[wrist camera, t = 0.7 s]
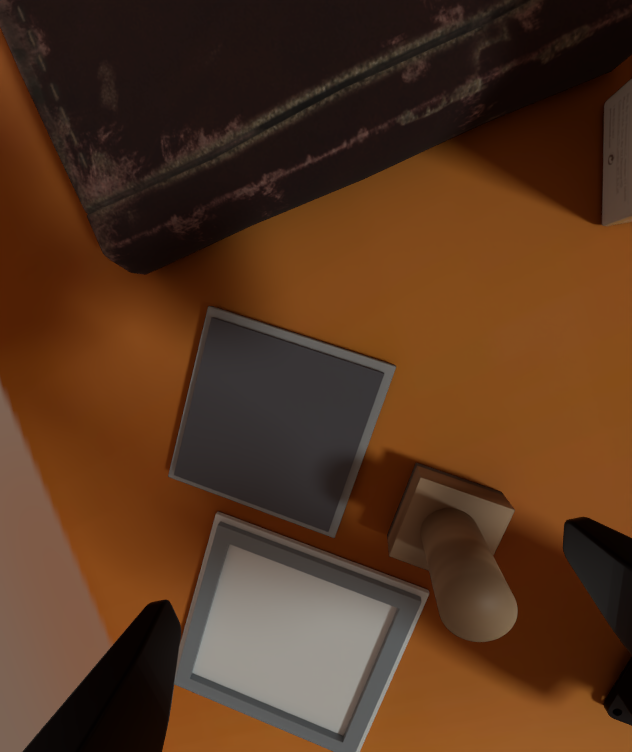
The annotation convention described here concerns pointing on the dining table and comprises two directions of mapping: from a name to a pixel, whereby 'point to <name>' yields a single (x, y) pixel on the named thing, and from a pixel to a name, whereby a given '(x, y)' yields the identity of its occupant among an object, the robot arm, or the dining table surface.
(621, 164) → the small box
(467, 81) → the diary
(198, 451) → the ink pad
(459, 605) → the stamp
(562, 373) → the dining table surface
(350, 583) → the print sheet
